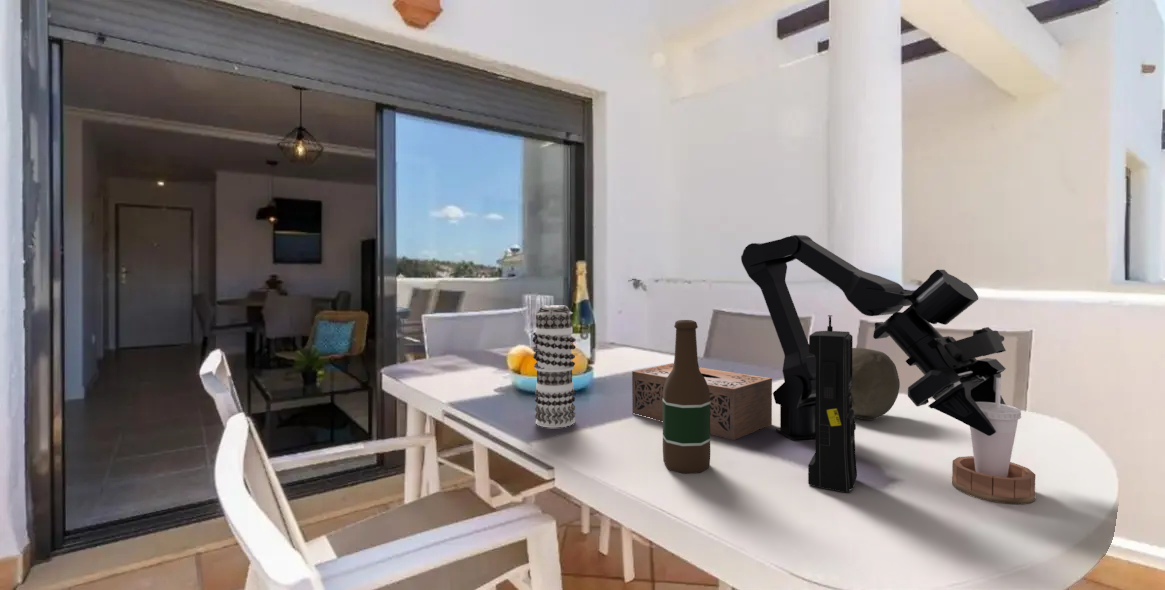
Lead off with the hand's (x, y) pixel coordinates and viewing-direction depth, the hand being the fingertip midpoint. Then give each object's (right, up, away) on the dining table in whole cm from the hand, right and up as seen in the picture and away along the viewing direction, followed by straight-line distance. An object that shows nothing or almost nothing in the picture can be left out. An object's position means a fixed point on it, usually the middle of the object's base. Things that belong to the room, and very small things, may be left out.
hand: (1003, 430), depth 76 cm
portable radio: (-22, -9, +4) cm, 24 cm away
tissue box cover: (-34, -8, +40) cm, 53 cm away
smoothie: (0, -7, +2) cm, 7 cm away
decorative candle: (-66, -8, +38) cm, 76 cm away
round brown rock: (+1, -7, +40) cm, 41 cm away
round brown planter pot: (-1, -9, +1) cm, 9 cm away
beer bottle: (-43, -9, +13) cm, 45 cm away
